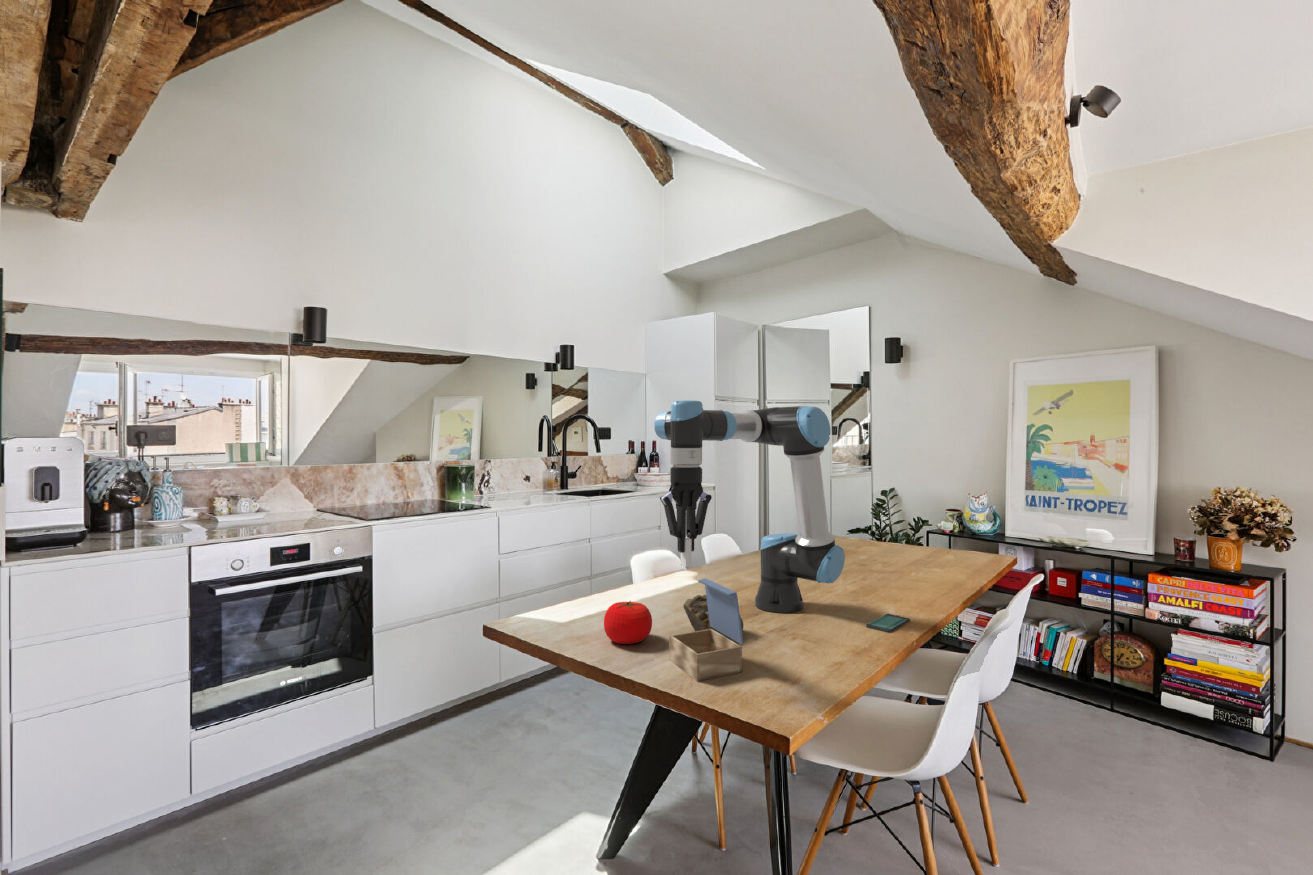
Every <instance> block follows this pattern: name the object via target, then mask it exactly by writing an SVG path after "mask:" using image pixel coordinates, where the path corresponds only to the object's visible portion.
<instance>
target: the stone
mask: <svg viewBox="0 0 1313 875" xmlns="http://www.w3.org/2000/svg"><path fill="white" fill-rule="evenodd" d="M683 609H684V612H685V615H686V617H687V618H688V620H689V623H690V625H691V627H692V629H693V630H694V632H695V631H701V630H707V629H713V630H714V631H716V632H718V633H719V634H721V635H723V636H725V637H726V638H728V639H730V640H732V639H731V638H730V637H728V636H726V635H724V634H723V633H721V632H719V631H718V630H716V629H714V628H712V627H711V626H710V622H709V614H708V606H707V598H706V594H703V595H700V594H697V595H696V596H694V597H692V598H688V599H686V600H685V601H684V602H683ZM740 622H741V630H742V633H743V631H744V626H745V625H744V621H743V619H742V617H741V615H740Z"/></svg>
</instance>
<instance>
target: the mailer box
mask: <svg viewBox="0 0 1313 875" xmlns="http://www.w3.org/2000/svg"><path fill="white" fill-rule="evenodd" d="M668 637H669V638H668V639H669V640H668V641H669V645H668V647H669V648H668V649H669V658H668V659H669V661H670V662H672V663H673V664H674V665H675V666H676V667H678V668H679V669H681V670H682V671H683V672H684V673H685V674H687V676H689V677H691V678H692V679H693V680H695V681H696V682H701V681H705V680H711V679H717V678H720V677H726V676H729V675H733V674H734V675H735V674H740V673H743V646H741V644H738V643H737V642H736V641H735V642H734V640H732V639H728V638H726V637H725V636H723V635H721V634H719V633H718V632H716V631H714V630H713V629H707V630H701V631H695V630H694V631H691V632H690V631H689V632H683V633H677V634H671V635H669V636H668Z"/></svg>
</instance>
